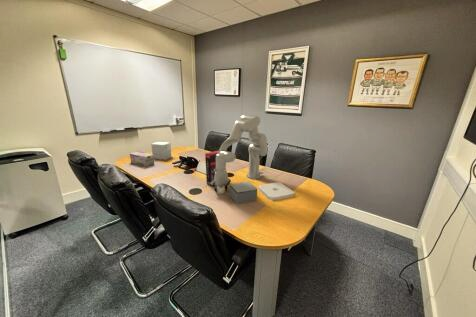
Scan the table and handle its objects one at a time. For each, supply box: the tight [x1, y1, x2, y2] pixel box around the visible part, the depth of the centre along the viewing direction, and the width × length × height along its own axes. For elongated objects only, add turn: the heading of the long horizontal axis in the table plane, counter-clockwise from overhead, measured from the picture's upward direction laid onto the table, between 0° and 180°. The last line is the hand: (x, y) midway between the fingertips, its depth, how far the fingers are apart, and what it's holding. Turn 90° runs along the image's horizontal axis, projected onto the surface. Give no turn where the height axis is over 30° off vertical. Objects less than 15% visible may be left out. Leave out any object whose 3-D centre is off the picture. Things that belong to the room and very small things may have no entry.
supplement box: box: [150, 141, 172, 161], centre depth 230 cm, size 17×13×18 cm
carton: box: [228, 184, 258, 205], centre depth 142 cm, size 16×14×8 cm
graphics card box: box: [204, 150, 219, 187], centre depth 164 cm, size 17×7×27 cm, turn 138°
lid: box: [229, 181, 258, 193], centre depth 141 cm, size 16×14×1 cm
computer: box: [257, 181, 295, 201], centre depth 153 cm, size 22×22×3 cm
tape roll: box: [217, 184, 226, 195], centre depth 150 cm, size 6×6×5 cm
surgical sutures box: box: [129, 151, 155, 168], centre depth 210 cm, size 25×11×11 cm, turn 59°
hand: (221, 190), depth 150 cm, fingers open, 7 cm apart
